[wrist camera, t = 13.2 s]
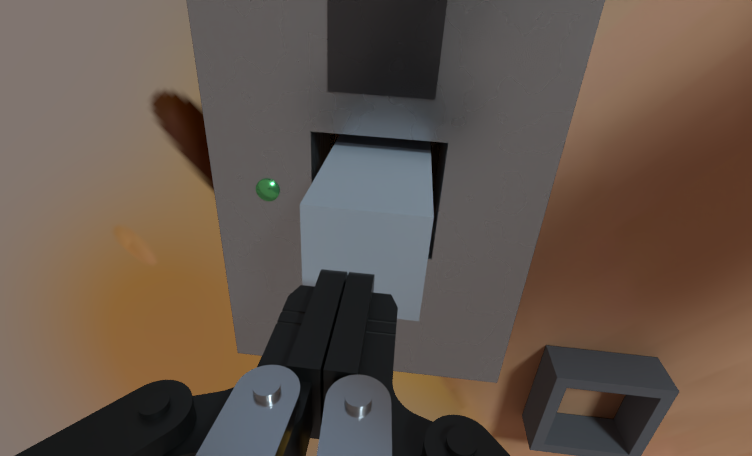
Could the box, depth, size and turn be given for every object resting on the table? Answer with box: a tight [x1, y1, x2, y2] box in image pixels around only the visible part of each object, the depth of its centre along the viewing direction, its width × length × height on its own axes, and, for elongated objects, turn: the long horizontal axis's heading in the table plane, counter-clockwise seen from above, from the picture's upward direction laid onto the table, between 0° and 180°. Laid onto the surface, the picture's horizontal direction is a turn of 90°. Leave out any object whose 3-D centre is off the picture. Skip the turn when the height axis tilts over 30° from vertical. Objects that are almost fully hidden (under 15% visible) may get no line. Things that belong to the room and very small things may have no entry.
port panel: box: [187, 0, 605, 383], centre depth 20 cm, size 14×20×4 cm
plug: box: [300, 134, 434, 321], centre depth 18 cm, size 4×4×9 cm
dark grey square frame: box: [522, 345, 679, 456], centre depth 26 cm, size 7×7×2 cm
